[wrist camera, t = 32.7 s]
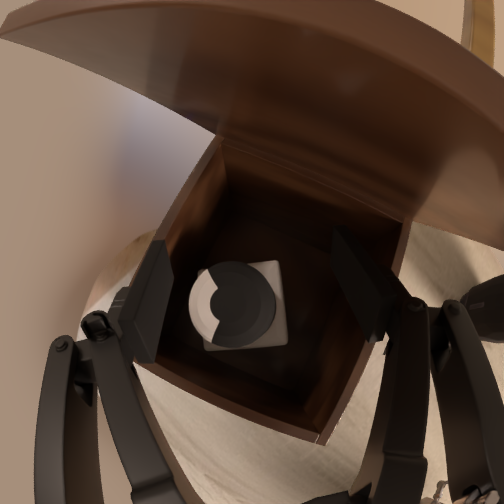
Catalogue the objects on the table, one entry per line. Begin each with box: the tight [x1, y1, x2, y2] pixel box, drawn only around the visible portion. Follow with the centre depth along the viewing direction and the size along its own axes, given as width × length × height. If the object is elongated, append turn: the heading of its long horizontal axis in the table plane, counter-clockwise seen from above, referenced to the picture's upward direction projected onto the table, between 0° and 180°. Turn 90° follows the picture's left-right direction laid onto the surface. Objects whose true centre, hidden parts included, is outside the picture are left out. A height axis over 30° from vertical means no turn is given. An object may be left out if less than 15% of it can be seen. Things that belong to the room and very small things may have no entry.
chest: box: [128, 135, 412, 446], centre depth 25 cm, size 18×17×14 cm
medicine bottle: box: [189, 260, 288, 351], centre depth 24 cm, size 7×7×12 cm
